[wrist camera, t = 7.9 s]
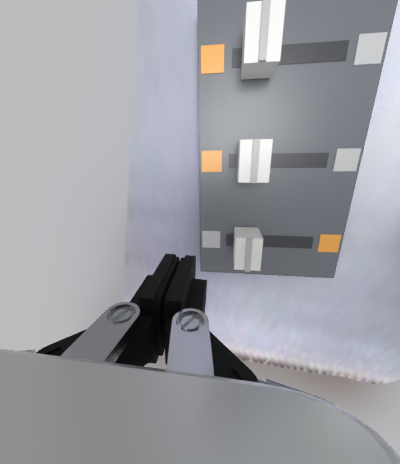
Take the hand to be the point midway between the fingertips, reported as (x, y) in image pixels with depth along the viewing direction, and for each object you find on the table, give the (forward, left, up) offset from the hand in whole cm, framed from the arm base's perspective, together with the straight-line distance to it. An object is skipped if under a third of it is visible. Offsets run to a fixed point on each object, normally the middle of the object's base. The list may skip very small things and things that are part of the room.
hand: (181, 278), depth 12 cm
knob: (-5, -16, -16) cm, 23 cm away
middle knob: (-5, -6, -16) cm, 18 cm away
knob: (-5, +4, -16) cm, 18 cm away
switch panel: (-8, -6, -19) cm, 22 cm away
